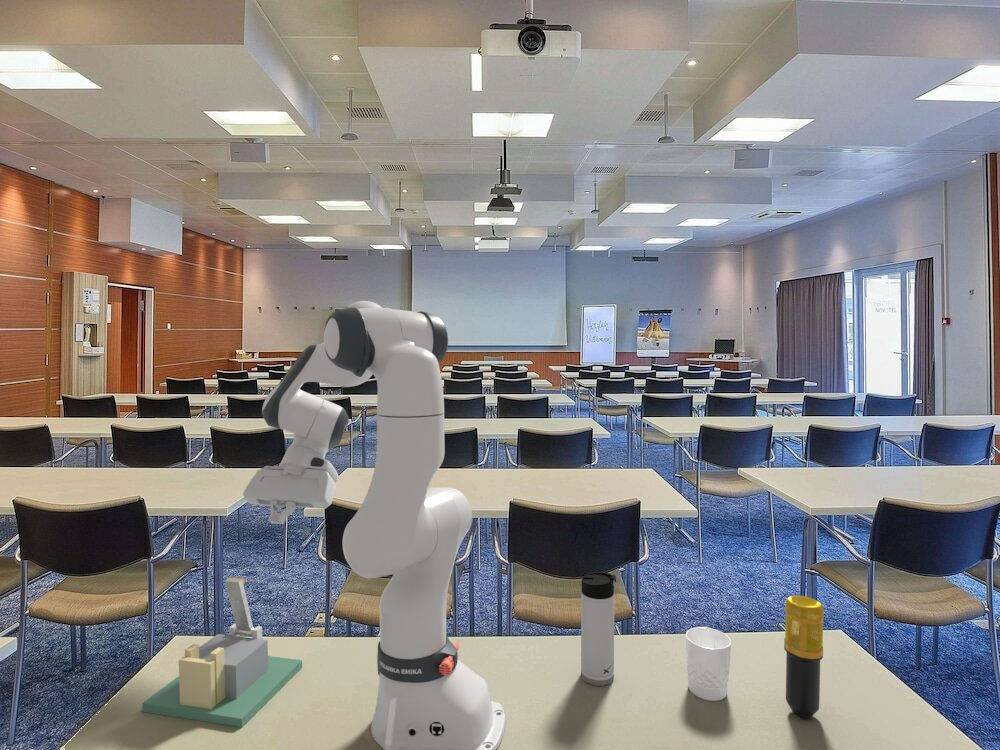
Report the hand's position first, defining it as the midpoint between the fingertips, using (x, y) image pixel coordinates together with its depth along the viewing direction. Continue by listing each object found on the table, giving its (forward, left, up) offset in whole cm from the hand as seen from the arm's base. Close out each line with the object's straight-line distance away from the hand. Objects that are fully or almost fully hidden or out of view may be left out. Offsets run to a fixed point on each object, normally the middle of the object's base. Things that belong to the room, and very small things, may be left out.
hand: (275, 522), depth 118 cm
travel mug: (-68, -2, -27) cm, 73 cm away
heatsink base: (0, +16, -27) cm, 31 cm away
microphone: (-106, 0, -27) cm, 110 cm away
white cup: (-88, -2, -27) cm, 92 cm away
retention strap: (0, +12, -13) cm, 18 cm away
